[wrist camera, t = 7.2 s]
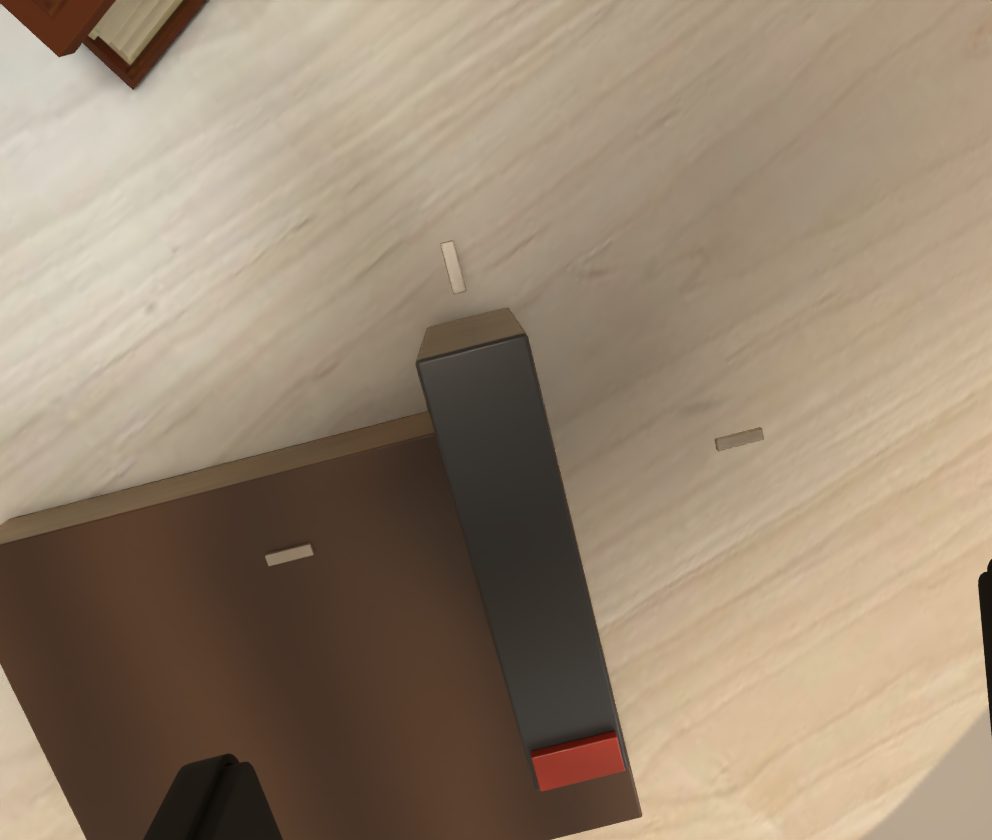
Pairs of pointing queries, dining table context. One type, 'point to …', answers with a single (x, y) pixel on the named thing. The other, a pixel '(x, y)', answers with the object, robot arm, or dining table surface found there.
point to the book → (108, 29)
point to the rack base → (282, 647)
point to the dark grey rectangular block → (522, 544)
